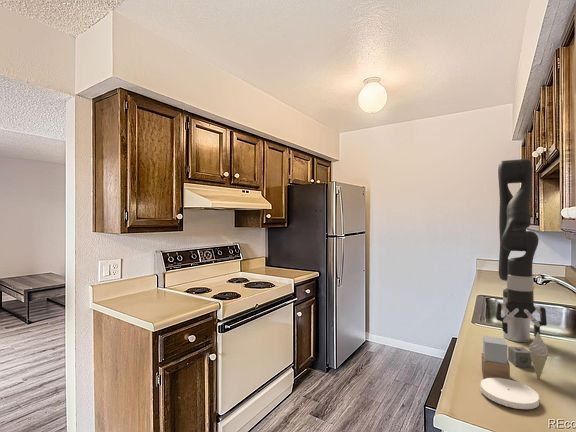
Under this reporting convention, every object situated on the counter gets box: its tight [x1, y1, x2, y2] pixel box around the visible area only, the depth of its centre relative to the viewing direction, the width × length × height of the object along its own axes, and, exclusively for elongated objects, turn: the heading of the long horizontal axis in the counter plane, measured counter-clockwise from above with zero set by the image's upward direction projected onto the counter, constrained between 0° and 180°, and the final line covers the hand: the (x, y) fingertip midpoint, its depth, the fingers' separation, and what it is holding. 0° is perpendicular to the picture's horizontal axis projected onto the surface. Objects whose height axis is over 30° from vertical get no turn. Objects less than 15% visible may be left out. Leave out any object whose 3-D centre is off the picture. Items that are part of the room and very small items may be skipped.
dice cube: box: [507, 345, 533, 368], centre depth 114 cm, size 5×5×5 cm
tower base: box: [481, 352, 511, 380], centre depth 105 cm, size 7×7×6 cm
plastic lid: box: [479, 378, 540, 410], centre depth 93 cm, size 14×14×2 cm
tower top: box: [482, 335, 508, 364], centre depth 105 cm, size 6×6×6 cm
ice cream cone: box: [528, 332, 549, 380], centre depth 104 cm, size 5×5×15 cm
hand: (520, 334), depth 113 cm, fingers open, 8 cm apart
